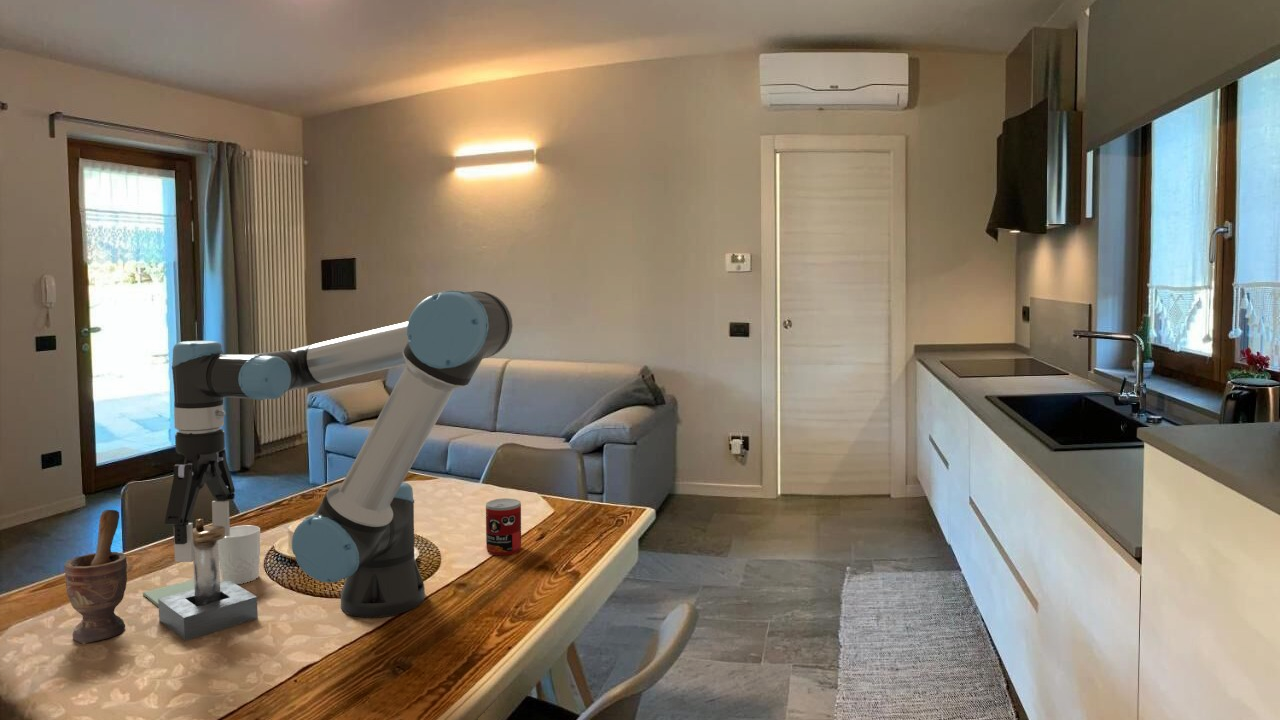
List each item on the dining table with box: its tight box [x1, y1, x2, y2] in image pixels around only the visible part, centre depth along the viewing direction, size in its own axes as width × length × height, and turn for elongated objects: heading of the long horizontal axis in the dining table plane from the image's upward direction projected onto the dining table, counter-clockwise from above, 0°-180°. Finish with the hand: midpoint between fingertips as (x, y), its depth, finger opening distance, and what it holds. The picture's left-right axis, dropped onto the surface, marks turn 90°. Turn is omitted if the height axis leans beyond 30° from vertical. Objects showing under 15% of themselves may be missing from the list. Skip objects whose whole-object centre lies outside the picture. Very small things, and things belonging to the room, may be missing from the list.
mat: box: [142, 578, 194, 608], centre depth 151 cm, size 10×10×1 cm
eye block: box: [158, 580, 259, 642], centre depth 139 cm, size 12×12×4 cm
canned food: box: [485, 498, 522, 556], centre depth 177 cm, size 8×8×11 cm
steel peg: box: [192, 518, 225, 607], centre depth 139 cm, size 6×6×18 cm
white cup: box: [218, 524, 261, 585], centre depth 159 cm, size 8×8×10 cm
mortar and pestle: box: [64, 509, 128, 645], centre depth 134 cm, size 12×9×20 cm
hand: (203, 547), depth 138 cm, fingers open, 13 cm apart
